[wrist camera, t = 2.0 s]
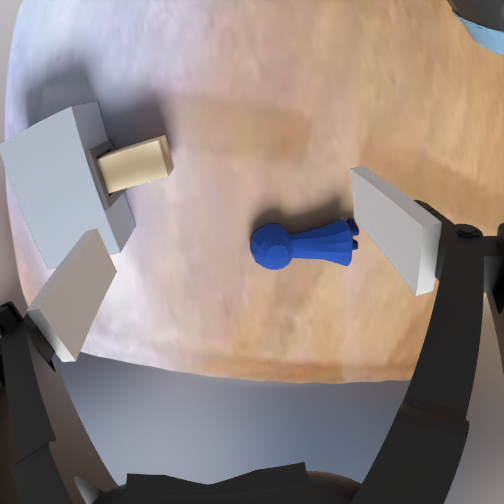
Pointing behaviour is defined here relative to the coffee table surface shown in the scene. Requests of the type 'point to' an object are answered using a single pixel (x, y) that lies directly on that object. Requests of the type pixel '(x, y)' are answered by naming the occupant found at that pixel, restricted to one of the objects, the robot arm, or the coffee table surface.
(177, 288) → the coffee table surface
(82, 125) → the sleeve block
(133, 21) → the coffee table surface
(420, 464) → the robot arm
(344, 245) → the toy
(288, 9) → the coffee table surface
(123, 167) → the peg
